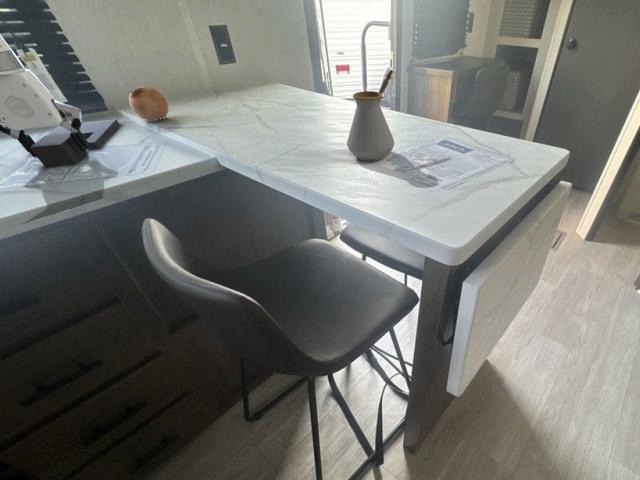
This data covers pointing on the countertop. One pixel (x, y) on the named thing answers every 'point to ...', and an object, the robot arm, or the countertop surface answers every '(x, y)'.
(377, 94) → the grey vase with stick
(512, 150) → the countertop surface
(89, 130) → the notched block
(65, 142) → the black angular block
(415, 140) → the countertop surface
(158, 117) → the onion
